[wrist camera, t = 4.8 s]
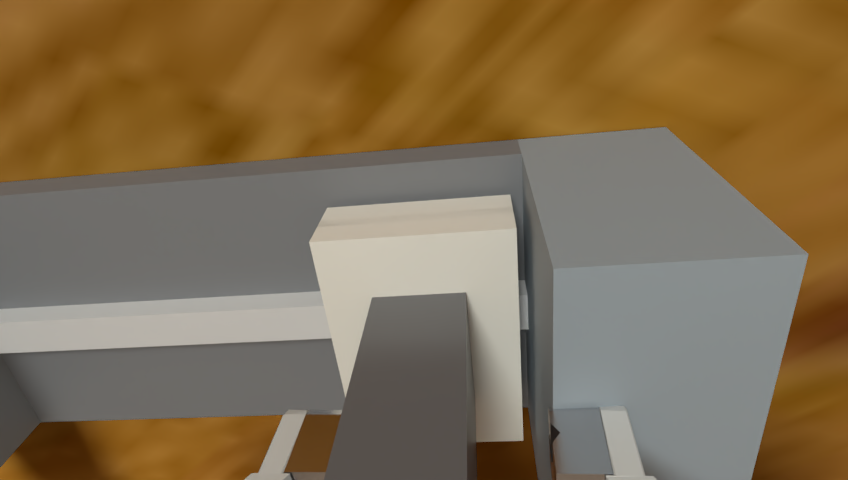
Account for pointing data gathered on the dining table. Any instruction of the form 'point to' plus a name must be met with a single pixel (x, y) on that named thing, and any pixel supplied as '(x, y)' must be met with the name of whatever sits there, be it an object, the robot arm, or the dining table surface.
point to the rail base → (305, 314)
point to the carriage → (421, 334)
